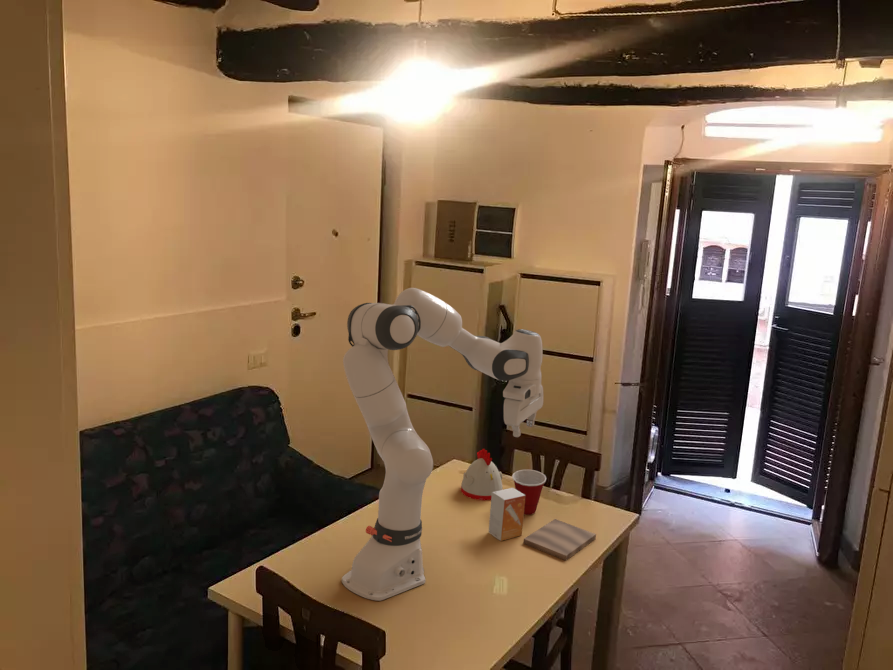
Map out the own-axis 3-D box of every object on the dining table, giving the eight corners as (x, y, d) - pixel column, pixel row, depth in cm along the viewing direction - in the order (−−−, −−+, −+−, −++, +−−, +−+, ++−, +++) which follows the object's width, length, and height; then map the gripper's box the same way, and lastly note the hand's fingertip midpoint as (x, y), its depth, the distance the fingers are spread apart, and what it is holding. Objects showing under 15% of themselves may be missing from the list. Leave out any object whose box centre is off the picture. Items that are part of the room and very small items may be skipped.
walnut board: (565, 560, 204) (566, 555, 204) (523, 543, 212) (523, 538, 212) (595, 538, 218) (596, 534, 218) (554, 523, 226) (555, 518, 226)
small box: (500, 541, 212) (504, 500, 210) (487, 532, 218) (491, 491, 215) (522, 535, 217) (526, 494, 214) (509, 527, 222) (512, 486, 219)
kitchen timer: (474, 503, 237) (477, 459, 234) (453, 486, 249) (456, 445, 246) (510, 496, 244) (513, 454, 241) (488, 481, 256) (491, 440, 253)
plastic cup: (503, 512, 231) (506, 477, 229) (517, 501, 241) (520, 466, 238) (535, 522, 226) (539, 485, 224) (548, 509, 236) (551, 474, 233)
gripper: (530, 374, 219) (528, 418, 222) (500, 393, 201) (498, 440, 205) (549, 377, 216) (547, 422, 219) (521, 397, 198) (519, 444, 202)
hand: (523, 431), depth 212 cm, fingers open, 8 cm apart
